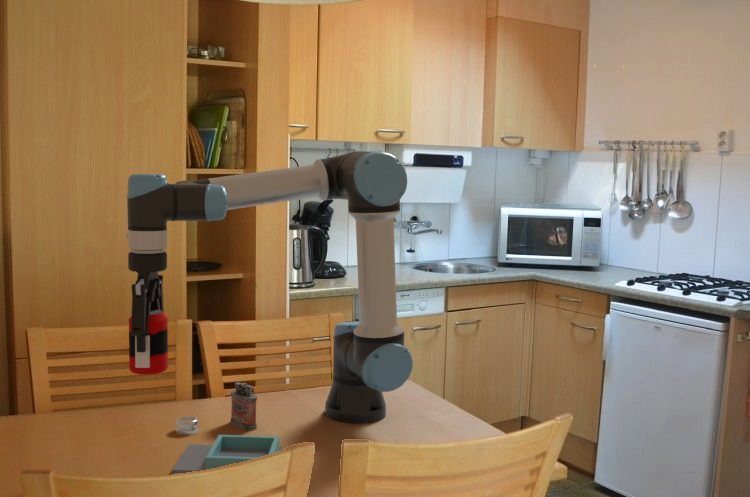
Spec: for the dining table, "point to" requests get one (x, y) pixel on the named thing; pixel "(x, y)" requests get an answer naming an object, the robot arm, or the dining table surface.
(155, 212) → the robot arm
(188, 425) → the grooved metal pulley
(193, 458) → the dock
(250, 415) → the lighter
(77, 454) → the dining table surface
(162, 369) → the soda can
